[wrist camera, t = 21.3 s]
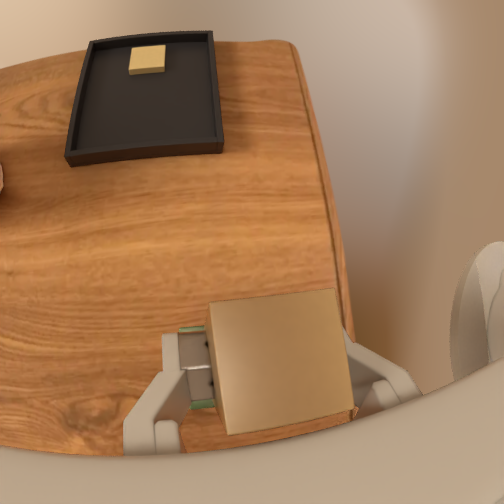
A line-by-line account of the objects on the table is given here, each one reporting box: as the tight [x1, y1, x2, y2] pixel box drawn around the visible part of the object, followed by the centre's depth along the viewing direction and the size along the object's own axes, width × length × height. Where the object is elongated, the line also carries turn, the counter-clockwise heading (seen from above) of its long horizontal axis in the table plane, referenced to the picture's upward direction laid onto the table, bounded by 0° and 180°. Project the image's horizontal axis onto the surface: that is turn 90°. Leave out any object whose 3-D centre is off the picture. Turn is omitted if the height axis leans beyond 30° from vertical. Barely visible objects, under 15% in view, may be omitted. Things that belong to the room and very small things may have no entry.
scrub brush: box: [179, 288, 355, 436], centre depth 11 cm, size 5×4×9 cm
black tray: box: [64, 31, 224, 167], centre depth 30 cm, size 15×17×2 cm
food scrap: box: [129, 45, 166, 75], centre depth 31 cm, size 4×4×1 cm
